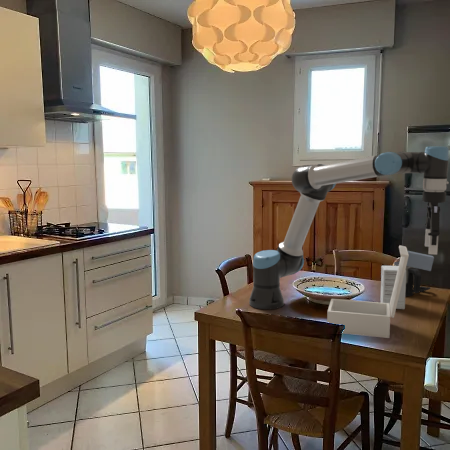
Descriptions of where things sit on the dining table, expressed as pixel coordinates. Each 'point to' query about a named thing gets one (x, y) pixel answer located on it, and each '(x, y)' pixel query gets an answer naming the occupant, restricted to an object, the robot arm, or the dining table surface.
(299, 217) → the robot arm
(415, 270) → the milk frother
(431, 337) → the dining table surface
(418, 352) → the dining table surface
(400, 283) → the mailer lid
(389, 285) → the supplement box
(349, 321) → the mailer box
